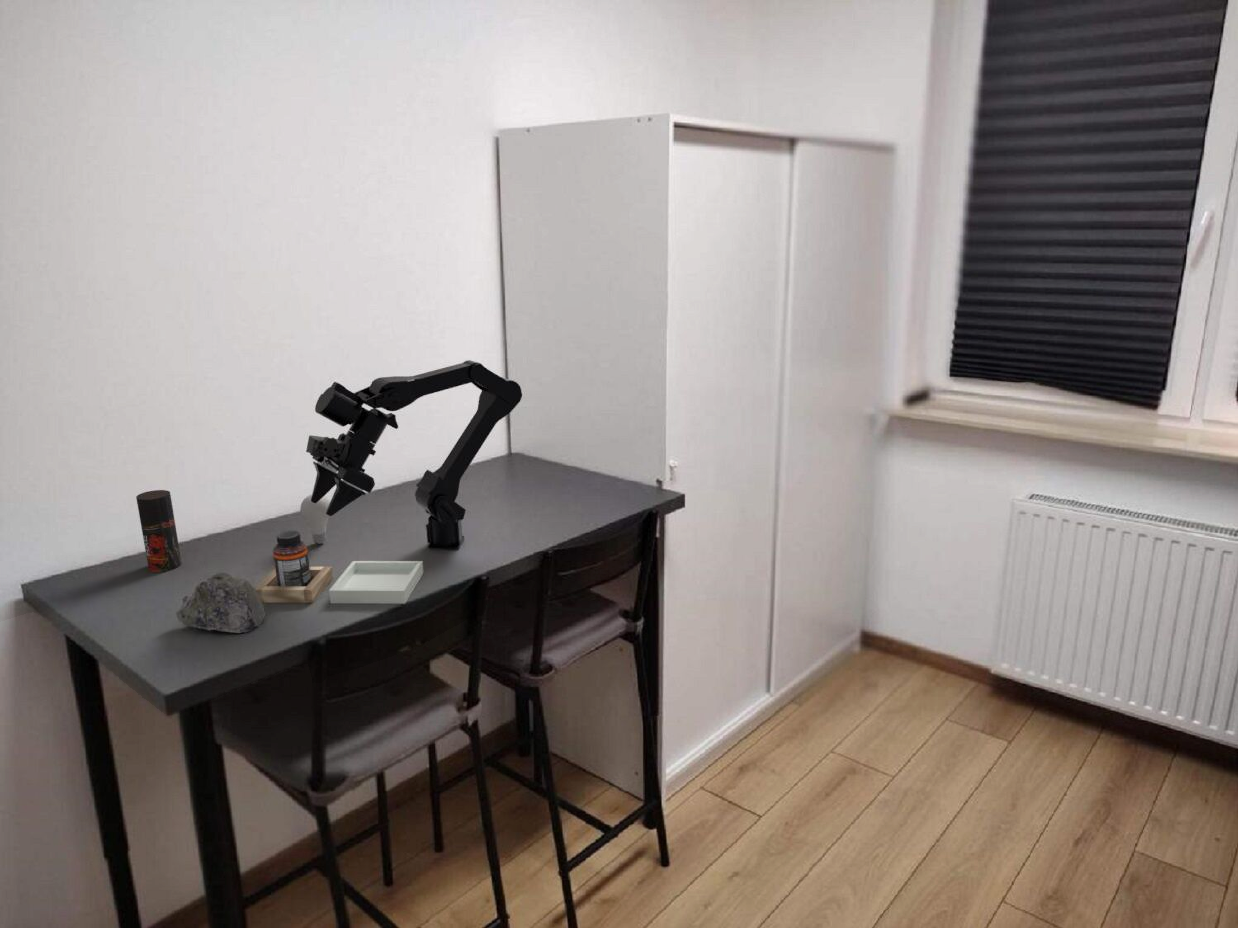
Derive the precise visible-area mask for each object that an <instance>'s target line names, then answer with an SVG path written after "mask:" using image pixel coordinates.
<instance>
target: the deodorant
mask: <svg viewBox="0 0 1238 928" xmlns="http://www.w3.org/2000/svg"><path fill="white" fill-rule="evenodd" d="M135 498H136V499H135V500H136V504H137V509H138V510H137V511H138V515H139V522H140V527H141V532H142V537H143V545H144V549H145V555H146V556H145V557H146V562H147V567H148V568H147V569H148V571H150V572H153V573H162V572H169V571H172V570H175V569H178V568H179V567H181V565H182V558H181V551H180V546H179V545H180V544H179V539H178V533H177V528H176V527H177V526H176V520H175V515H174V509H173V503H172V495H171V492H170V490H166V489H157V490H149V491H148V490H147V491H145V492H141V493H139V494H137V495H136V497H135Z"/></svg>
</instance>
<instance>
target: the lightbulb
mask: <svg viewBox="0 0 1238 928" xmlns="http://www.w3.org/2000/svg"><path fill="white" fill-rule="evenodd" d="M311 497H312V494H310V495H307V496H306V497H305V498H304V499H303V500H302V502H301V503H300V514H301V517H302V518H303V519H304V520H305V521H306V523H307V525H308V527H309V531H310V533H311V536H312V540H313V541H312V542H313V543H315V544H317V545H322V544H323V543H324V542H326V539H327V538H326V531H327V523H328V519H329V518H330V516H329V515H327V514H326V512H327V509H328V506H329V504H330V502H331V501H330V500H329V499H328V498H327V496H326V495H325V496H324V497H323V498H321V499H320V500H319V501H318V502H317V503H313V502H311Z"/></svg>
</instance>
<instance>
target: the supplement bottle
mask: <svg viewBox="0 0 1238 928" xmlns="http://www.w3.org/2000/svg"><path fill="white" fill-rule="evenodd" d="M301 539H302V538H301V535H300V531H297V530H285V531H281V532H279V533H277V535H276V542H277V544H275V546H274V547H273V550H272V553H273V562H274V569H275V570H276V577H277V585H278V586H300V587H307V585H308V584H309V583H310V582H311V575H310V567H311V566H310V559H309V553H308V546H307V544H306V543H305V542H304V541H302V540H301Z"/></svg>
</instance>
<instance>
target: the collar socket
mask: <svg viewBox="0 0 1238 928" xmlns="http://www.w3.org/2000/svg"><path fill="white" fill-rule="evenodd" d="M309 567H310V575H311V582H310V583H309V584H308V585H307V587H300V586H278V585H277V577H276V570H275V568H274V569H273V570H272V571H271V572H269V574H268V575H267V576H266V577H265V578H264V579H263V580H262V581H261V582H260V583H259V584H258V585H257V586H256V587H254V588H255V589H256V591H257V593H258V594H259V597H260V599H261V601H262V603H263V604H264V603H266V604H267V603H268V604H270V603H272V604H273V603H279V604H281V603H283V604H284V603H285V604H286V603H290V604H291V603H293V604H294V603H296V604H299V603H300V604H301V603H302V604H305V603H307V604H311V603H312V604H314V602H315V601H316V600H317V599H318V598H319V597H320V595H321V594H322V593H323V592H324V591H325V589H326V588H327V587H328V585H330V583H331V582H332V581H333V579H334V576H333V575H334V574H333V567H332V566H309Z"/></svg>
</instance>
